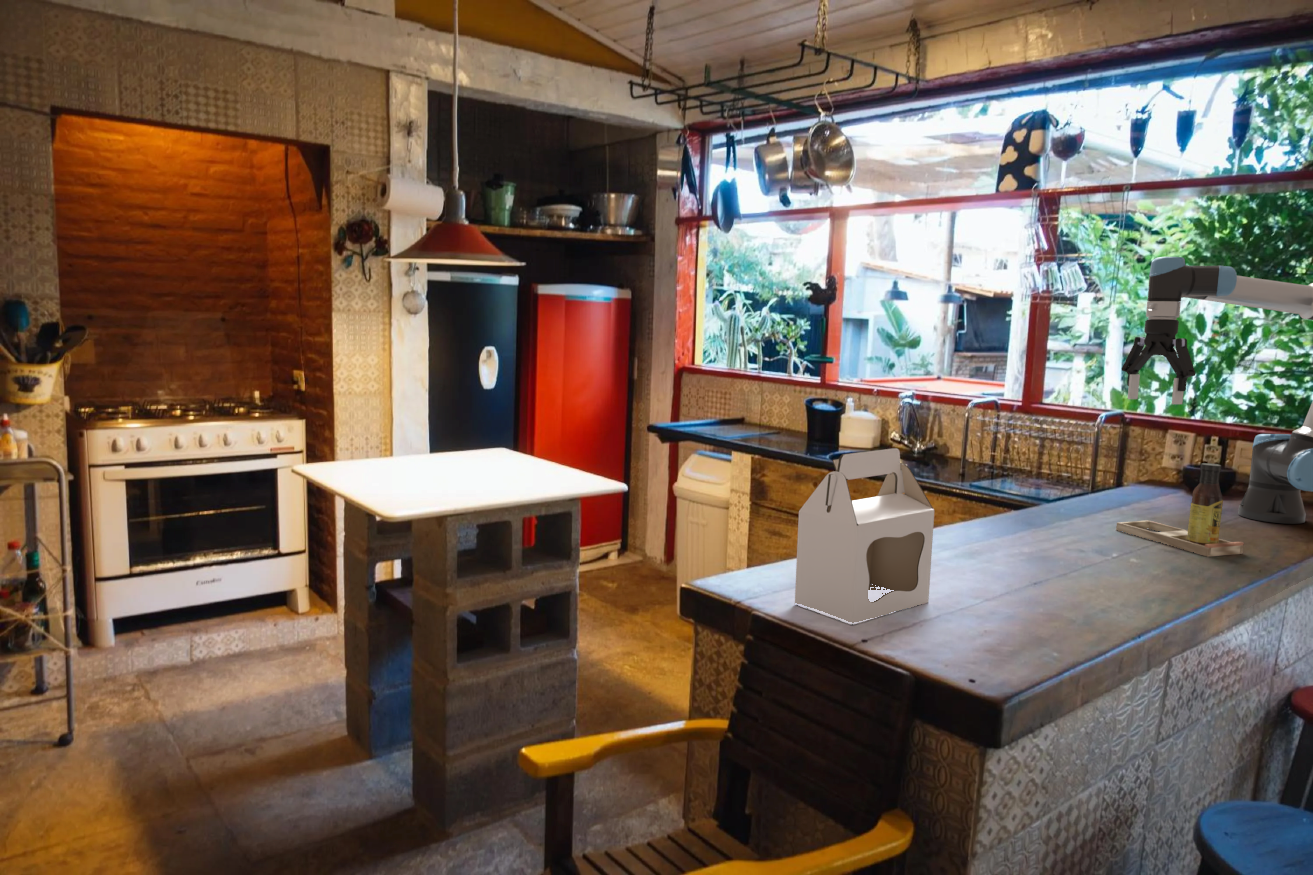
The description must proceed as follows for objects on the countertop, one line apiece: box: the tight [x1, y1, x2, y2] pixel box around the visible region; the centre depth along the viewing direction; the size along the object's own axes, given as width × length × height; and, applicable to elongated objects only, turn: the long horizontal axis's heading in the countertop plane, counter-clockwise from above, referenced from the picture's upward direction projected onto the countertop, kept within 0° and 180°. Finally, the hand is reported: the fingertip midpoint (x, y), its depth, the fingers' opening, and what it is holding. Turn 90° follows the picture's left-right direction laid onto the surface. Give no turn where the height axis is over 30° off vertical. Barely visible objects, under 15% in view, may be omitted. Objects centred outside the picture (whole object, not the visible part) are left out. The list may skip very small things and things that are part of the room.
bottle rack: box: [1115, 519, 1245, 557], centre depth 216 cm, size 11×26×3 cm, turn 19°
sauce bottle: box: [1187, 462, 1224, 546], centre depth 208 cm, size 7×6×20 cm
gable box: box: [794, 447, 935, 623], centre depth 161 cm, size 22×13×28 cm, turn 129°
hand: (1154, 401), depth 233 cm, fingers open, 13 cm apart
